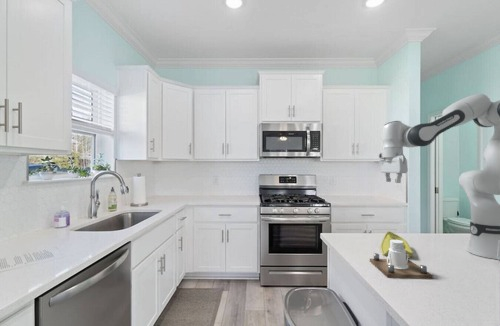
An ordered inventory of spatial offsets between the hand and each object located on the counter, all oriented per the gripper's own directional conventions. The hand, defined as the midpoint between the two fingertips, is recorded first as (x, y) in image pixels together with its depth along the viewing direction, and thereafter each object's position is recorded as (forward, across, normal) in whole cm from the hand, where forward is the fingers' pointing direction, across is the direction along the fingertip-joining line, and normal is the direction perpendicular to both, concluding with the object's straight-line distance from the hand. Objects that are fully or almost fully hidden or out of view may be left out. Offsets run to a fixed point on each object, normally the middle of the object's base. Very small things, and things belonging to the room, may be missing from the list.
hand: (393, 182), depth 125 cm
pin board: (+33, -24, +10) cm, 42 cm away
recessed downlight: (+32, -24, +10) cm, 41 cm away
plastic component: (+34, -2, 0) cm, 34 cm away
